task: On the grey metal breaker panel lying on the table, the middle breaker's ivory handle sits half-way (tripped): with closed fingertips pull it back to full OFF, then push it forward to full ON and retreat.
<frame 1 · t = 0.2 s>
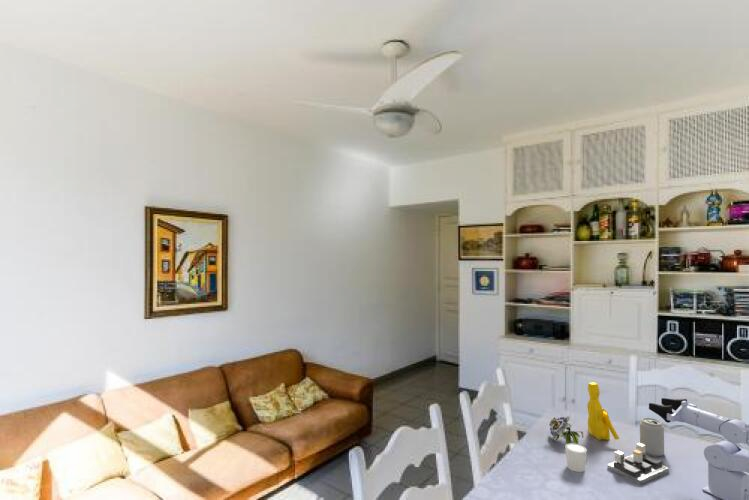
hand: (655, 403, 143), 22 cm above the table, tool horizontal, fingers open, 7 cm apart
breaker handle: (637, 456, 139), point 5 cm above the table, slide at 0.0 cm
can: (652, 452, 151), on the table
passion flower: (564, 441, 161), on the table
white cylinder: (576, 468, 141), on the table
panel: (637, 470, 139), on the table
figure statuette: (599, 437, 164), on the table
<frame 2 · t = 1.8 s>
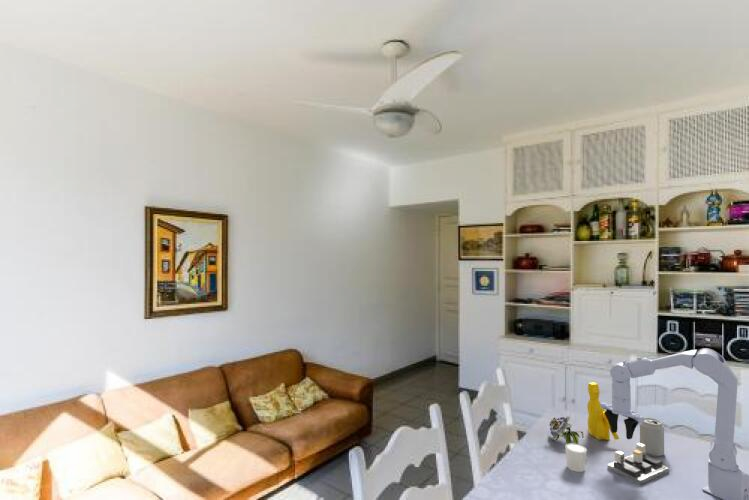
hand: (621, 435, 144), 10 cm above the table, tool pointing down, fingers open, 5 cm apart
nothing on the table moved.
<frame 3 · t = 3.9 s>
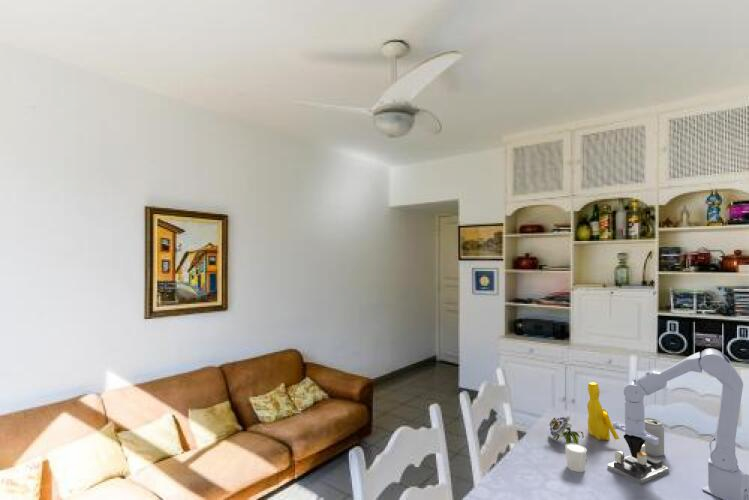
hand: (635, 456, 140), 4 cm above the table, tool pointing down, fingers closed
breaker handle: (641, 458, 138), point 5 cm above the table, slide at -1.4 cm, touching gripper
everything else where it was.
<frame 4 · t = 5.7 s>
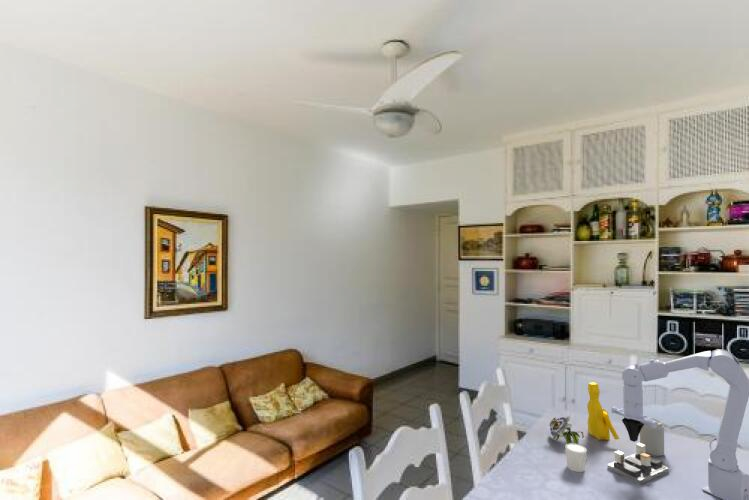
hand: (633, 440, 140), 10 cm above the table, tool pointing down, fingers closed
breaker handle: (645, 459, 137), point 5 cm above the table, slide at -2.6 cm
everything else where it was.
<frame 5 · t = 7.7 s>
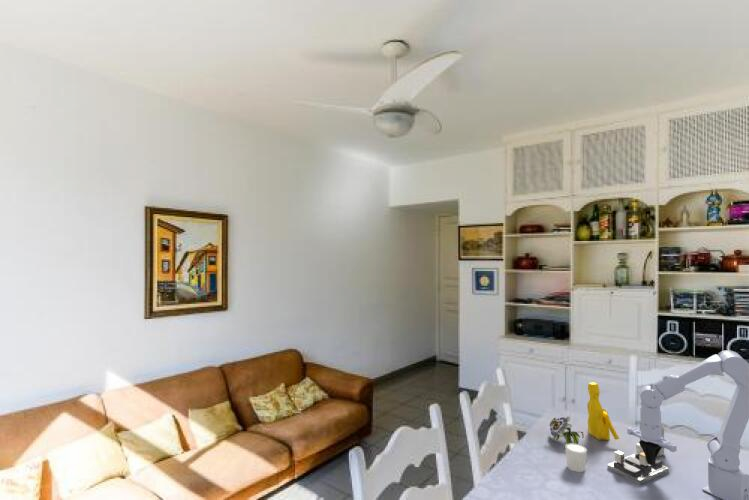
hand: (651, 463, 135), 4 cm above the table, tool pointing down, fingers closed
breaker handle: (644, 459, 137), point 5 cm above the table, slide at -2.1 cm, touching gripper
everything else where it was.
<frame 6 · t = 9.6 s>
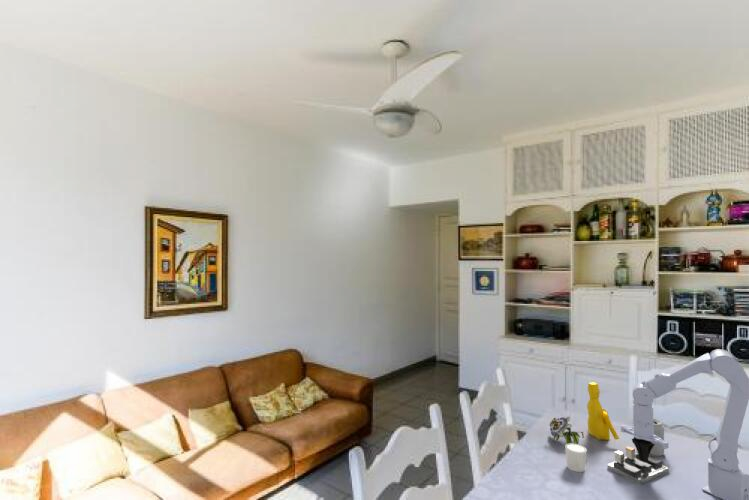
hand: (644, 460, 137), 4 cm above the table, tool pointing down, fingers closed
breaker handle: (630, 452, 141), point 5 cm above the table, slide at 2.6 cm
everything else where it was.
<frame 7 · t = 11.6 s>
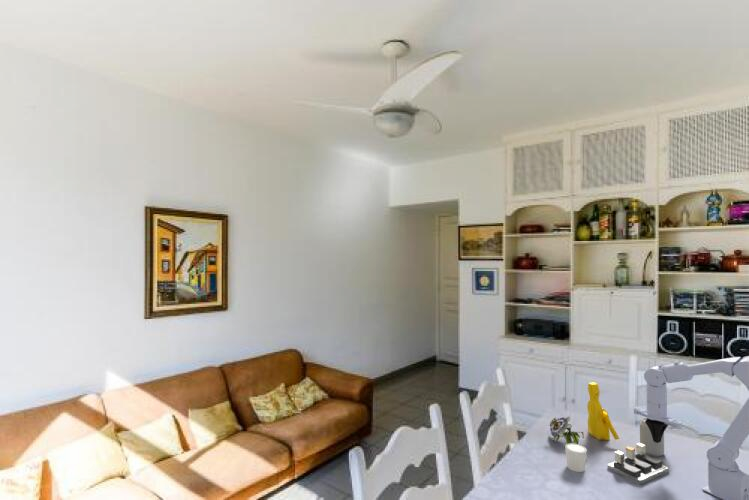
hand: (657, 441, 139), 10 cm above the table, tool pointing down, fingers closed
nothing on the table moved.
at the end: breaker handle slide at 2.6 cm; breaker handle touching nothing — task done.
